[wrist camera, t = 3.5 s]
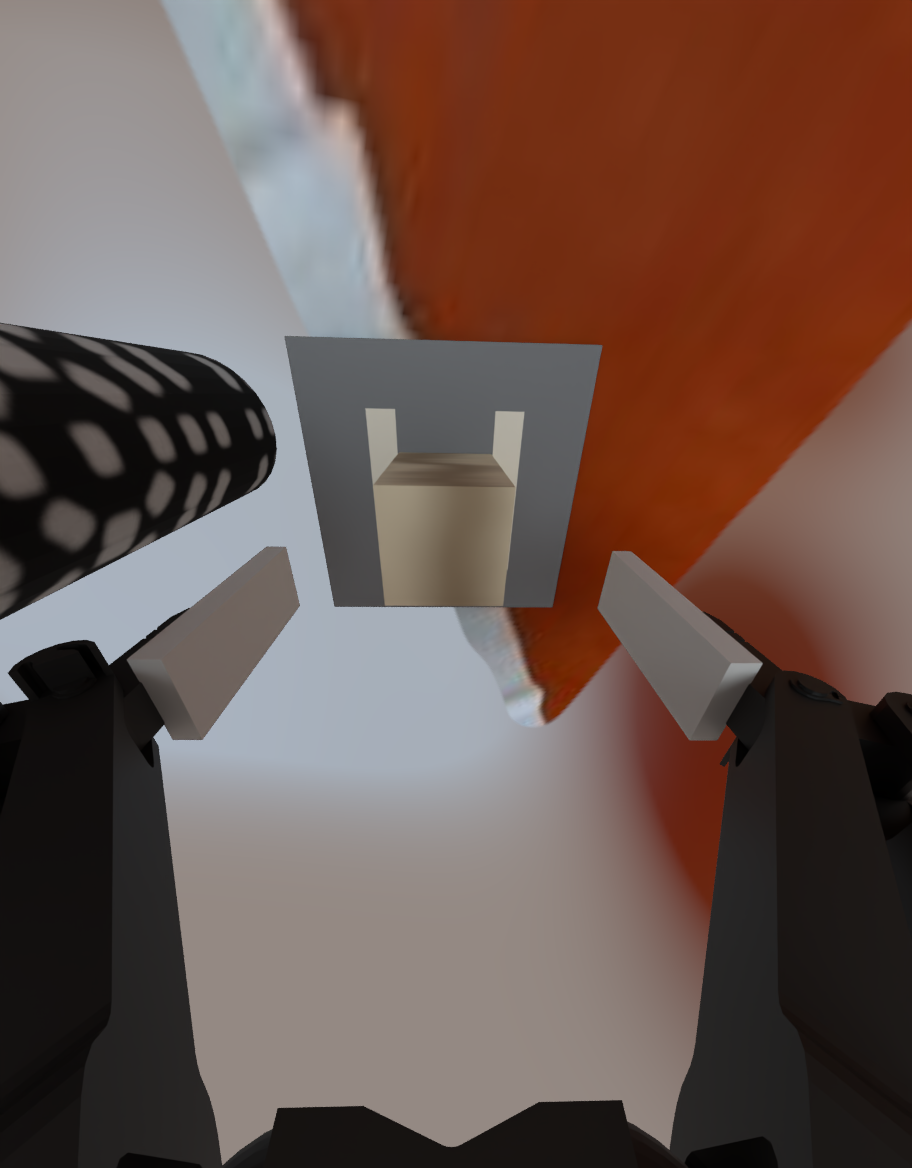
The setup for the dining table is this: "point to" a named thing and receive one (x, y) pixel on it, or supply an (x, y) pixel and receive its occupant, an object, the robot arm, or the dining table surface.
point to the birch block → (444, 529)
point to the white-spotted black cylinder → (113, 452)
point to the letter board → (442, 441)
